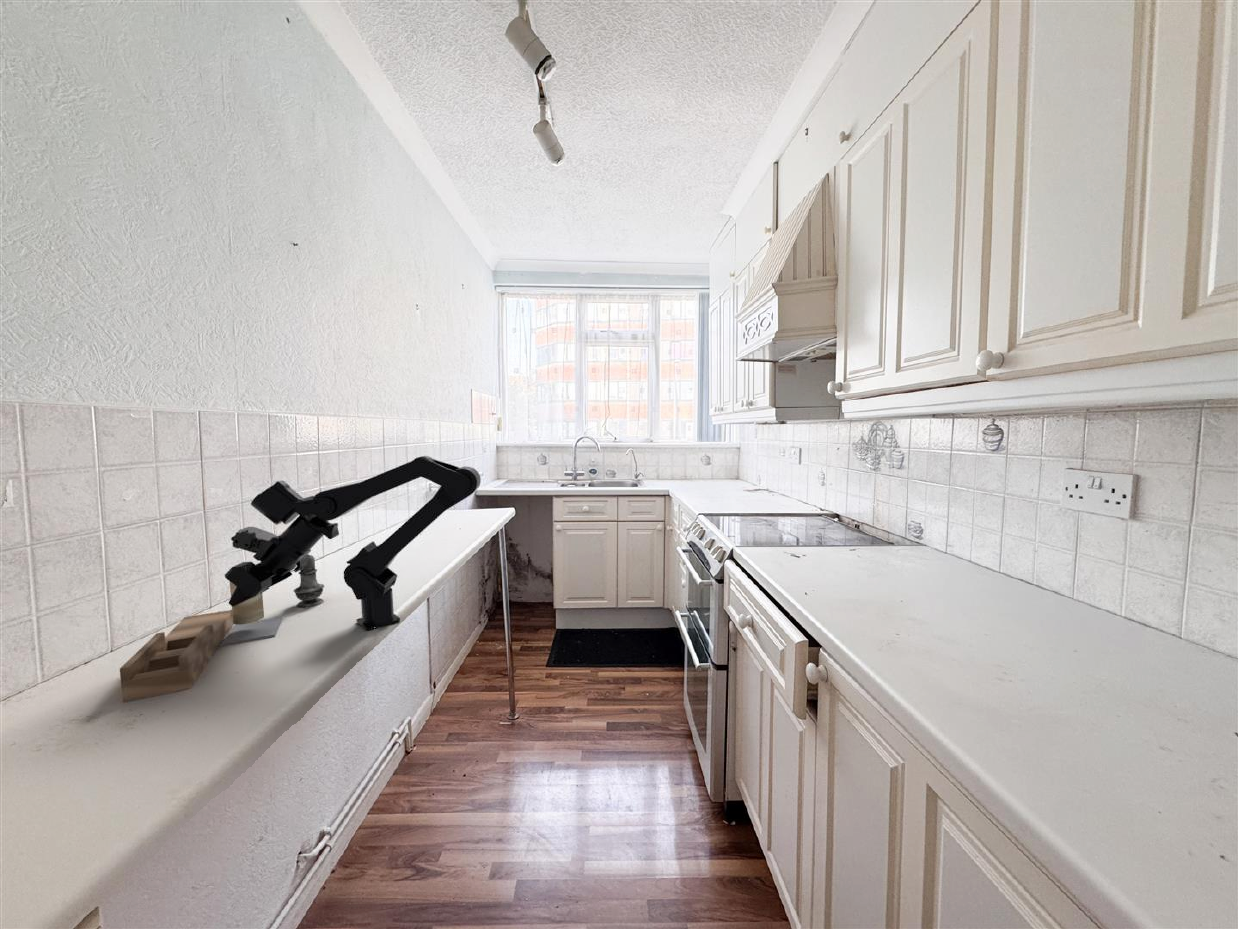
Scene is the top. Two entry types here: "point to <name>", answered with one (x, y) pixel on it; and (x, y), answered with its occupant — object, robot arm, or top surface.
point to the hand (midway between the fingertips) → (239, 600)
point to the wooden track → (174, 656)
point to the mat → (253, 631)
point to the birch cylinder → (247, 609)
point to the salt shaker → (309, 586)
